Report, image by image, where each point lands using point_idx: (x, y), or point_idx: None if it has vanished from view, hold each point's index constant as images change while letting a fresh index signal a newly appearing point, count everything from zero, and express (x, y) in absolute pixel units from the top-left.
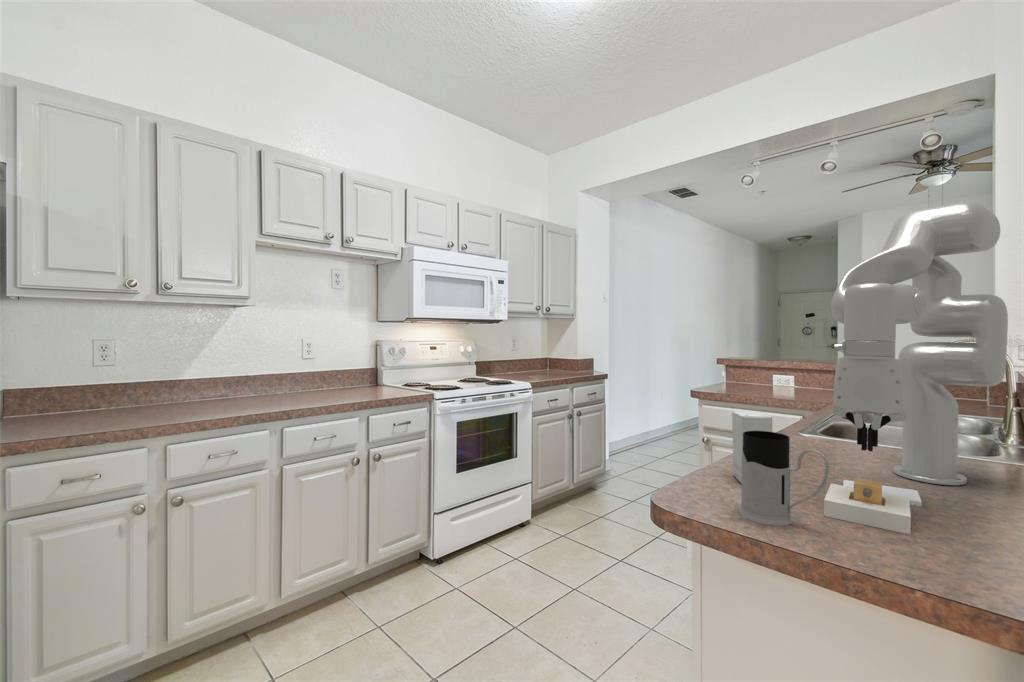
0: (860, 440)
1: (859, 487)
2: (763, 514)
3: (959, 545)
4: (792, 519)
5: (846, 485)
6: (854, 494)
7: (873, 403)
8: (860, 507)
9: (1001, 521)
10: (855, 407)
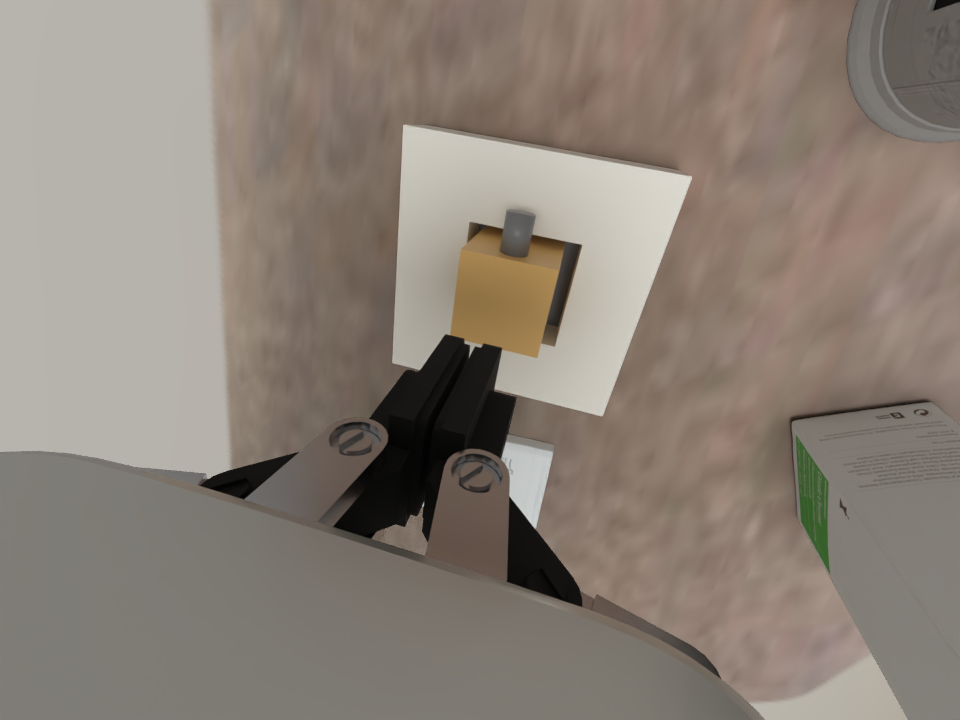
0: (493, 404)
1: (539, 262)
2: None
3: (316, 106)
4: (860, 7)
5: (536, 487)
6: (559, 256)
7: (126, 655)
8: (557, 153)
9: (245, 369)
10: (466, 632)
